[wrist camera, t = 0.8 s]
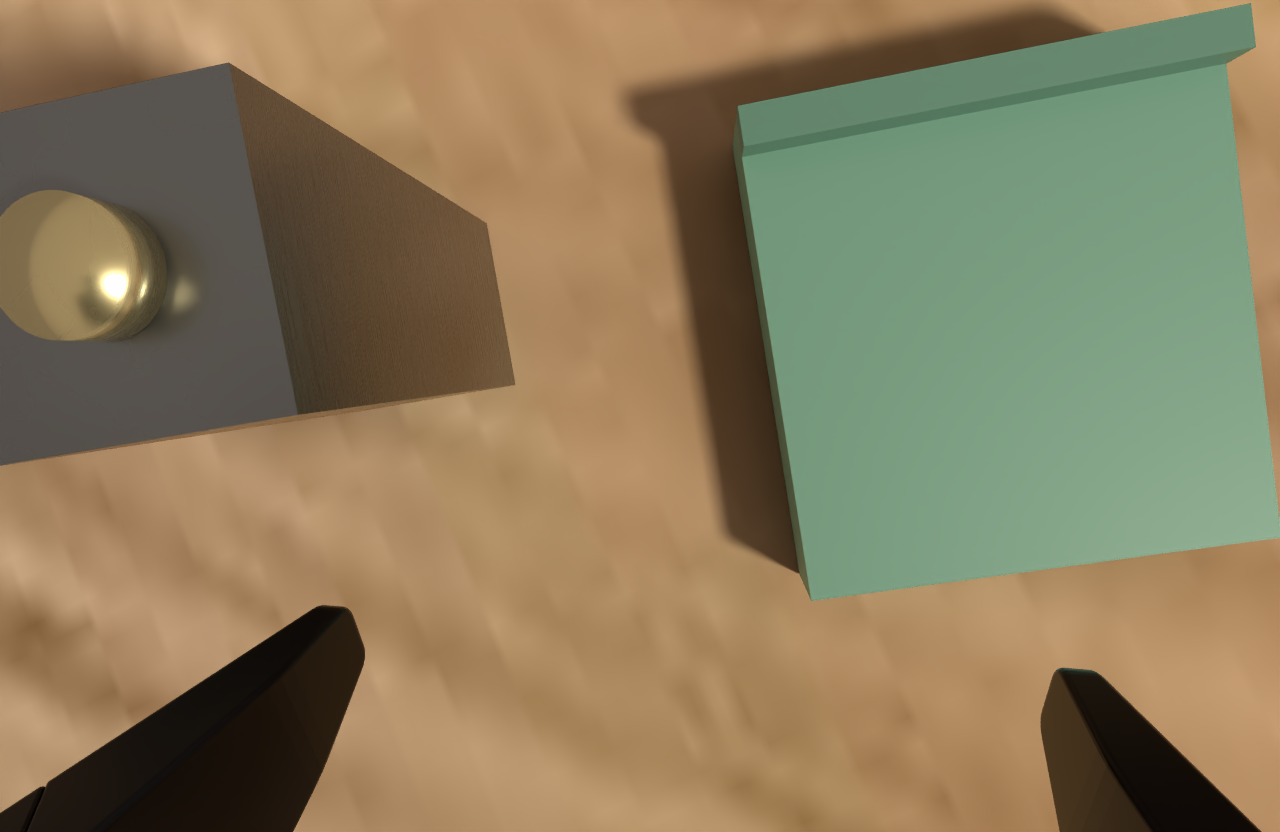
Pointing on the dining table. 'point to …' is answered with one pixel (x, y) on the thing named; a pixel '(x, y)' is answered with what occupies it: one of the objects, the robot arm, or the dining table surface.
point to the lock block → (222, 271)
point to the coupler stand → (1011, 310)
